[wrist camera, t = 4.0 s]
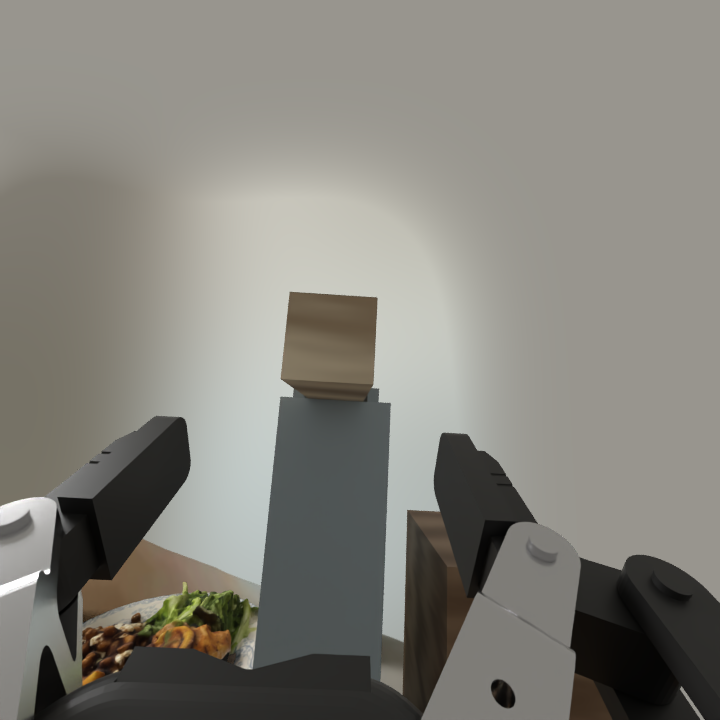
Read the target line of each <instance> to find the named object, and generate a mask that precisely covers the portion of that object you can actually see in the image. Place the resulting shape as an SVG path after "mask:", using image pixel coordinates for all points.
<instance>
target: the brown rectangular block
mask: <svg viewBox="0 0 720 720" xmlns="http://www.w3.org/2000/svg"><path fill="white" fill-rule="evenodd" d="M376 319H377V298H376V297H360V296H345V295H329V294H315V293H299V292H290V296H289V304H288V314H287V324H286V333H285V343H284V352H283V362H282V372H281V380H283V381H284V382H286V383H287V384H289V385H290V386H291V387H293V388H294V389H296V390H297V391H299V392H300V393H301V394H303V395H304V396H306V397H307V398H311V399H328V400H345V401H362V402H363V401H364V399H365V398H366V396H367V394H368V393H369V391H370V389H371V388H372V386H373V381H374V360H375V339H376Z"/></svg>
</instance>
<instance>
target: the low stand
mask: <svg viewBox="0 0 720 720" xmlns="http://www.w3.org/2000/svg"><path fill="white" fill-rule="evenodd" d="M406 547H407V548H406V584H405V624H404V625H405V626H404V662H403V696H404V697H405V698H407V699H408V700H409V701H410V702H411V703H412V704H413V705H414V706H416V707H417V708H418V709H419V710H420V711H421V712H422V713H423V714H424V712H425V709H426V707H427V705H428V703H429V700H430V698H431V696H432V693H433V691H434V689H435V687H436V684H437V682H438V680H439V678H440V675H441V673H442V671H443V668H444V666H445V664H446V662H447V659H448V657H449V655H450V653H451V650H452V648H453V646H454V643H455V641H456V639H457V637H458V634H459V632H460V630H461V628H462V625H463V623H464V621H465V618H466V616H467V614H468V612H469V609H470V607H471V605H472V603H473V600H474V598H467V597H466V593H465V590H464V587H463V584H462V580H461V577H460V574H459V571H458V567H457V564H456V561H455V558H454V554H453V551H452V548H451V545H450V541H449V538H448V535H447V532H446V528H445V525H444V522H443V518H442V515H441V512H434V511H413V510H407V546H406ZM569 720H612V718H611V716H610V714H609V712H608V710H607V708H606V705H605V703H604V701H603V699H602V697H601V695H600V693H599V691H598V689H597V687H596V685H595V683H594V681H593V680H591V679H588V678H586V677H583V676H581V675H578V674H576V673H574V680H573V689H572V698H571V707H570V715H569Z"/></svg>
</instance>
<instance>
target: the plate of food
mask: <svg viewBox="0 0 720 720" xmlns="http://www.w3.org/2000/svg"><path fill="white" fill-rule="evenodd" d="M233 593H234V592H233V591H232V590H228V591H225V592H223V593H221V594H220V593H216V592H210V593H207V592H206V591H204V592H201V591H199V590H197V591H195V592H192V593H188V586H187V583H186V582H183V592H182V593H179V594H173V595H166V596H160V597H155V598H150V599H146V600H142V601H138V602H135V603H131V604H128V605H125V606H122V607H119V608H116V609H113V610H111V611H108V612H105V613H103V614H101V615H99V616H96V617H94V618H92V619H90V620H88V621H86V622H84V623H83V624H82V682H83V685H86V684H88V683H90V682H92V681H94V680H96V679H98V678H101V677H104V676H106V675H109V674H112V673H115V672H118V671H121V670H122V669H123V667H124V665H125V663H126V662H127V660H128V658H129V656H130V654H131V653H132V651H133V649H134V647H135V646H140V647H164V648H188V649H196V650H198V651H201V652H203V653H206V654H208V655H211V656H213V657H216V658H218V659H221V660H223V661H226V662H227V659H228V656H229V655H231V654H233V653H236V659H235V661H234V665H236V666H239V667H241V668H244V669H253V660H254V650H255V640H256V631H257V621H258V611H259V607H257V606H256V605H254V604H253V603H251V602H249V601H248V599H245V600H244V599H241V598H240V597H239V595H237V594H235V595H234V596H233Z"/></svg>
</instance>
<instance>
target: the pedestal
mask: <svg viewBox="0 0 720 720" xmlns="http://www.w3.org/2000/svg"><path fill="white" fill-rule="evenodd" d="M378 396H379V389H374V388H371V389H370V391H369V393H368V394H367V396H366V398H365V399H364V401H363V402H362V401H345V400H328V399H311V398H307V397H306V396H304V395H303V394H301V393H300V392H299V391H297V390H296V389H294V393H293V398H292V397H280V407H279V417H278V427H277V436H276V446H275V456H274V465H273V475H272V485H271V495H270V504H269V514H268V524H267V534H266V544H265V553H264V564H263V573H262V582H261V592H260V602H259V611H258V621H257V631H256V640H255V650H254V660H253V669H256V668H260V667H263V666H267V665H271V664H275V663H279V662H283V661H287V660H290V659H294V658H298V657H302V656H306V655H310V654H335V655H360V656H370V666H371V678H372V679H375V680H377V681H380V675H381V648H382V621H383V619H382V618H383V595H384V568H385V567H384V566H385V541H386V540H385V539H386V514H387V487H388V460H389V433H390V406H391V404H390V403H379V402H378V399H379V397H378Z"/></svg>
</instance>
